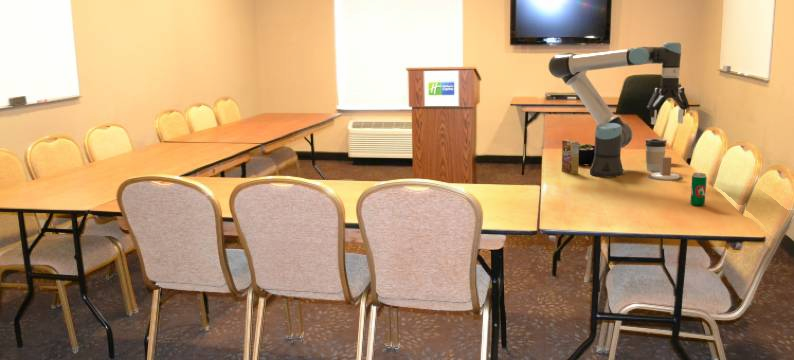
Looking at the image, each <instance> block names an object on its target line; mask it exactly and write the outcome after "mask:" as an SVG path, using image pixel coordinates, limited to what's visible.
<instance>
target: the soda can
mask: <svg viewBox="0 0 794 360" xmlns="http://www.w3.org/2000/svg"><path fill="white" fill-rule="evenodd" d="M707 179H708V178H707V174H706V173H704V172H693V174H692V175H691V187H690V198H689V199H690V200H689V201H690V202H689V203H690V204H691V206H695V207H703V206H705V204H706V192H707V181H708V180H707Z"/></svg>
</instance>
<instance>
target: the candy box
mask: <svg viewBox="0 0 794 360" xmlns="http://www.w3.org/2000/svg"><path fill="white" fill-rule="evenodd" d="M561 141H562V142H561V171H562V172H565V173H567V174H570V175H577V174H579V165H580V164H579V144H580V141H576V140H572V139H562V140H561Z"/></svg>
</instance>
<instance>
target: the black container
mask: <svg viewBox="0 0 794 360" xmlns="http://www.w3.org/2000/svg"><path fill="white" fill-rule="evenodd" d="M594 153H595V145H591V144H590V143H581V144H580V143H579V164H578V165H583V166H584V165H585V166H586V165H592V163H593V160H594Z"/></svg>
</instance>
